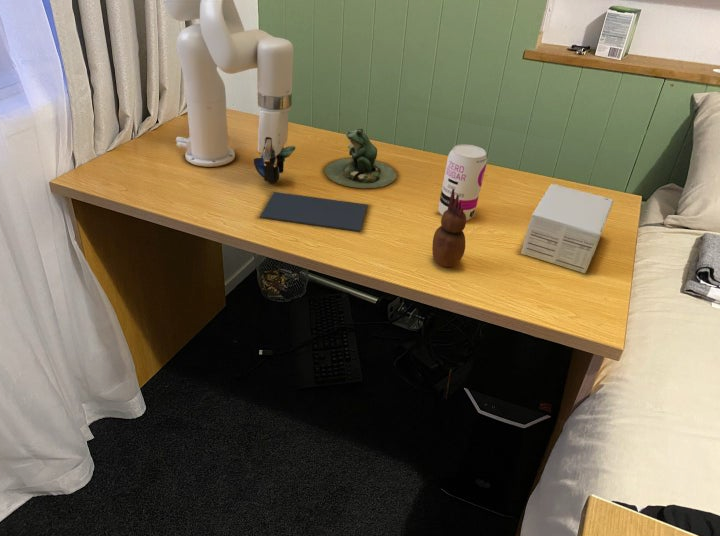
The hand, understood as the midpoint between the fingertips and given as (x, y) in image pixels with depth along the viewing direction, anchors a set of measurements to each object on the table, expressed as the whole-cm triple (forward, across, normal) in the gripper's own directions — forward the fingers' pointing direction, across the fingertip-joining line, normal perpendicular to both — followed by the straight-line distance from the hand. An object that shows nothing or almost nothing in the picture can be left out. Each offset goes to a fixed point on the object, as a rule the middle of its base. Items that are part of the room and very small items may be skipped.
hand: (274, 175), depth 136 cm
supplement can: (+2, +3, +43) cm, 44 cm away
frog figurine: (+2, -12, +19) cm, 23 cm away
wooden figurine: (+1, +24, +41) cm, 48 cm away
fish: (+2, 0, 0) cm, 2 cm away
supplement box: (+1, +11, +65) cm, 66 cm away
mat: (+2, +11, +12) cm, 17 cm away
